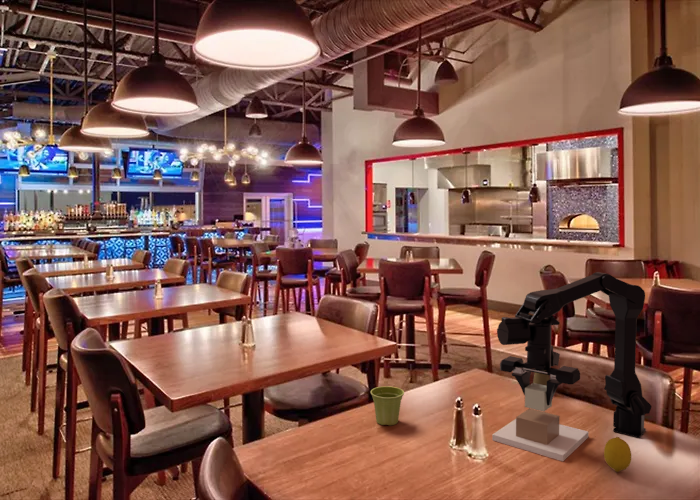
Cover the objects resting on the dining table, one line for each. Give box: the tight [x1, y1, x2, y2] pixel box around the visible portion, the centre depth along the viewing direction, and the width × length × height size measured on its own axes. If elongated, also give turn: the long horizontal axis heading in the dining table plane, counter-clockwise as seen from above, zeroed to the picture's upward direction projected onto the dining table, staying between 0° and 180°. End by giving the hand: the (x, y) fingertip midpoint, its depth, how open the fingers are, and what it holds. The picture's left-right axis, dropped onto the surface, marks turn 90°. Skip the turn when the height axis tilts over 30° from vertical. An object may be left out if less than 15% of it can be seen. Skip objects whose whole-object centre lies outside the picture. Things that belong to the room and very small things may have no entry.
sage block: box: [524, 382, 553, 412], centre depth 135 cm, size 5×5×5 cm
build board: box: [491, 408, 590, 462], centre depth 137 cm, size 18×18×6 cm
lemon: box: [603, 436, 632, 473], centre depth 119 cm, size 6×6×8 cm
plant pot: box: [370, 385, 405, 426], centre depth 149 cm, size 9×9×9 cm
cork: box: [532, 370, 551, 386], centre depth 172 cm, size 6×6×11 cm
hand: (538, 402), depth 135 cm, fingers closed on sage block, 5 cm apart
